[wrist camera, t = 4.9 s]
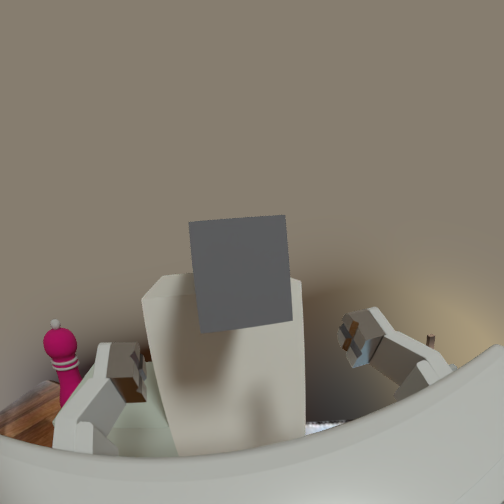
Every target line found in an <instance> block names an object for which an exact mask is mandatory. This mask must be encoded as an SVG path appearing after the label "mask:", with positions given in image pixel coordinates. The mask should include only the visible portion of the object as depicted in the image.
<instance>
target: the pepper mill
mask: <svg viewBox="0 0 504 504" xmlns="http://www.w3.org/2000/svg"><path fill="white" fill-rule="evenodd" d="M60 326H61V325H60V322H59V320H57V319H53V320H52V321H51V327H52V329H51V330H50V331H48V332H47V333H46V335H45V336H44V340H43V344H44V348H45V351H46V353H47V354H48V355H49V356H50V357H51V358H52V359H51V363H52V367H53V368H54V369H55V370H56V372H57V374H58V378H59V381H60V406H61V409H62V407H63V406H64V404H65V403H66V402H67V400H68V399H69V397H70V396H71V395H72V393H73V392H74V390H75V389H76V388H77V386H78V385H79V384H80V382H81V381H82V378H81V376H80V373H79V370H78V364H79V361H78V359H77V358H78V356H77V355H76V354H75V352H76V349H77V342H76V339H75V337H74V335H73V333H72V332H71V331H69V330H68V329H65V328H60Z"/></svg>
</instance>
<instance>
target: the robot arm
mask: <svg viewBox="0 0 504 504" xmlns="http://www.w3.org/2000/svg"><path fill="white" fill-rule="evenodd" d="M342 321H343V324H342V325H341V326H340V327H339V330H338V341H339V344H340V346H341V348H342V349H344V350H345V351H347V354H346V357H347V359H348V360H349V362H350V364H351V366H352V367H353V368H354V367H357V366H361V365H364V364H367V363H369V364H370V365H371V366H372V367H374V368H375V369H376V370H378V371H379V372H381V373H382V374H384V375H385V376H386V377H388V378H389V379H390V380H392V381H393V382H395V383H396V384H398V385H399V386H400V387H399V388H398V389H397V391H396V392H395V393H394V397H395V399H396V401H397V402H396V403H394V404H392V405H389V406H387V407H385V408H382V409H380V410H378V411H375V412H373V413H371V414H368V415H365V416H363V417H360V418H358V419H355V420H352V421H350V422H347V423H344V424H341V425H338V426H335V427H332V428H329V429H326V430H323V431H320V432H316V433H313V434H309V435H306V436H302V437H299V438H295V439H291V440H287V441H283V442H278V443H274V444H269V445H264V446H259V447H254V448H248V449H243V450H236V451H230V452H222V453H214V454H205V455H193V456H178V457H122V456H119V455H118V448H117V447H116V446H115V445H114V444H113V443H112V442H111V441H110V440H109V439H107V436H108V434H109V433H110V431H111V429H112V428H113V426H114V424H115V423H116V421H117V419H118V418H119V416H120V414H121V413H122V411H123V409H124V408H125V406H126V403H142V402H147V387H146V385H145V383H144V381H145V380H146V378H147V369H146V363H145V359H144V356H143V355H142V354H140V346H139V344H138V342H114V343H113V342H112V343H100V344H99V345H98V349H97V354H96V360H95V366H94V372H93V378H89V379H88V380H87V381H86V382H85V384H84V385H83V386H82V387H81V388H80V389H79V391H78V392H77V393H76V394H75V395H74V396H73V398H72V399H71V400H70V401H69V402H68V404H67V405H66V406H65V407H64V408H63V410H62V411H61V412H60V413H59V414H58V416H57V417H56V420H55V428H54V436H53V446H52V448H50V447H45V446H41V445H36V444H32V443H28V442H24V441H20V440H17V439H13V438H10V437H6V436H3V435H0V504H504V347H503V346H501V345H498V344H495V345H493V346H491V347H489V348H488V349H487V350H485V351H484V352H482V353H481V354H480V355H479V356H477V357H475V358H474V359H473V360H471V361H469V362H468V363H466V364H465V365H463V366H462V367H460V368H459V369H457V370H455V371H454V372H453V371H452V369H451V368H450V367H449V365H448V364H447V363H446V361H445V360H444V358H443V357H442V356H441V354H440V353H439V352H438V351H436V350H434V349H432V348H430V347H428V346H426V345H424V344H422V343H420V342H418V341H416V340H415V339H412V338H411V337H409V336H407V335H405V334H403V333H401V332H399V331H397V332H396V331H395V330H394V329H393V327H392V326H391V325H390V323H389V322H388V321H387V319H386V318H385V317H384V315H383V314H382V313H381V312H380V310H379V309H378V308H377V307H372V308H368V309H363V310H359V311H354V312H351V313H346V314H345V315H344V316H343V318H342Z"/></svg>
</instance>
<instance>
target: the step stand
mask: <svg viewBox="0 0 504 504" xmlns="http://www.w3.org/2000/svg"><path fill="white" fill-rule="evenodd" d="M290 282H291V297H292V313H293V321H288V322H282V323H276V324H270V325H263V326H257V327H250V328H243V329H236V330H228V331H220V332H212V333H203V334H201V332H200V325H199V317H198V310H197V302H196V293H195V284H194V275H193V273H187V274H177V275H166V276H162V277H161V278H160V279H159V280H158V281H157V282H156V283H155V285H154V286H153V287H152V288H151V289H150V290H149V291H148V292H147V293H146V294H145V295H144V296H143V297H142V299H141V301H142V307H143V313H144V320H145V326H146V331H147V337H148V342H149V347H150V352H151V357H152V362H145V363H146V369H147V378H146V380H145V381H144V383H145V385H146V387H147V402H142V403H126V406H125V408H124V409H123V411H122V413H121V414H120V416H119V418H118V419H117V421H116V423H115V424H114V426H113V428H112V429H111V431H110V433H109V434H108V436H107V439H109V440H110V441H111V442H112V443H113V444H114V445H115V446H116V447H117V448H118V455H119V456H122V457H178V456H193V455H205V454H214V453H222V452H230V451H236V450H243V449H248V448H254V447H259V446H264V445H269V444H274V443H278V442H283V441H287V440H291V439H295V438H299V437H302V436H305V357H304V330H303V308H302V290H301V281H299V280H296V279H293V278H290ZM94 366H95V364H94V365H93V366H92V367H91V369H90V370H89V371H88V373H87V374H86V376H85V377H84V379H83V380H82V381H81V382H80V384H79V385H78V386H77V388H76V389H75V390H74V392H73V393H72V395H71V396H70V397H69V399H68V400H67V402H66V403H65V404H64V406H63V407H62V409H61V410H60V412H61V411H62V410H63V408H64V407H65V406H66V405H67V404H68V402H69V401H70V400H71V399H72V398H73V396H74V395H75V394H76V393H77V392H78V391H79V389H80V388H81V387H82V386H83V385H84V384H85V382H86V381H87V380H88V379H89V378H93V372H94ZM60 412H59V413H60ZM59 413H58V414H59ZM58 414H57V416H58ZM57 416H56V417H57ZM56 417H55V419H54V420H53V422H52V423H53V425H54V427H55V420H56Z"/></svg>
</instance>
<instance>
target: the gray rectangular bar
mask: <svg viewBox="0 0 504 504" xmlns="http://www.w3.org/2000/svg"><path fill="white" fill-rule="evenodd" d="M189 233H190V243H191V255H192V266H193V275H194V284H195V293H196V302H197V310H198V317H199V325H200V332H201V334H203V333H212V332H220V331H228V330H236V329H243V328H250V327H257V326H263V325H270V324H276V323H282V322H288V321H293V313H292V297H291V282H290V269H289V256H288V244H287V243H288V242H287V231H286V219H285V215H277V216H260V217H245V218H232V219H220V220H207V221H195V222H189Z"/></svg>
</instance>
